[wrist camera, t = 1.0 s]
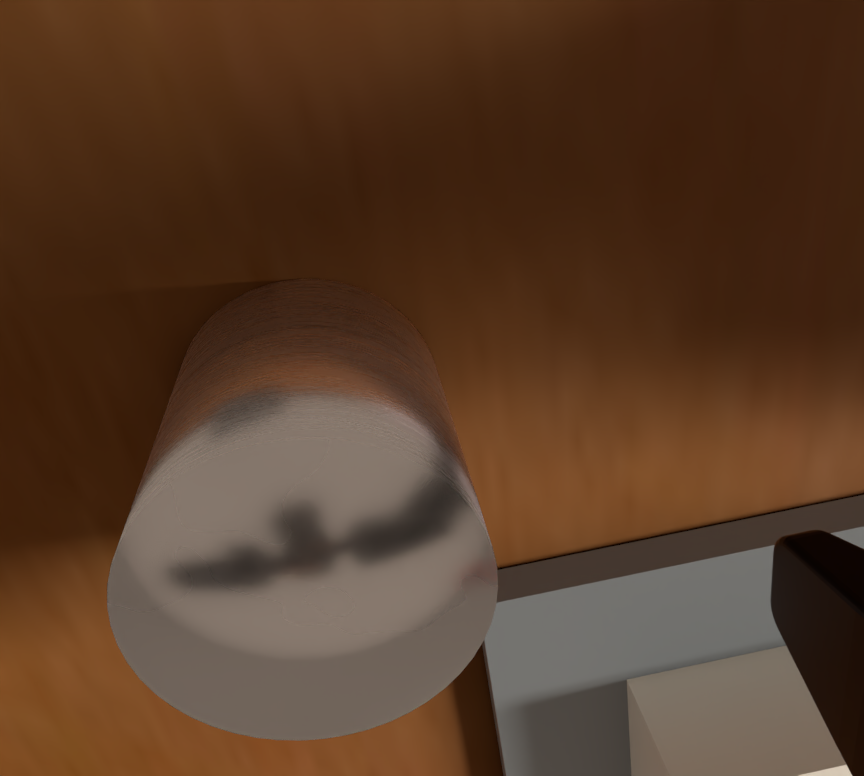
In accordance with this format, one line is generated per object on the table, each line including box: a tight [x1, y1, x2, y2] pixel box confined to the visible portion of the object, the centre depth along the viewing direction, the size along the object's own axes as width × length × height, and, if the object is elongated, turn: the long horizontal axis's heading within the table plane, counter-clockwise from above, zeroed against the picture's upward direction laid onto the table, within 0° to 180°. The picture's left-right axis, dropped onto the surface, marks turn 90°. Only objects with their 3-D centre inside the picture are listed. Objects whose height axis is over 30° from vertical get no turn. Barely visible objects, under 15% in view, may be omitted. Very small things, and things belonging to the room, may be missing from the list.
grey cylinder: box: [107, 279, 498, 740], centre depth 10 cm, size 4×4×5 cm
